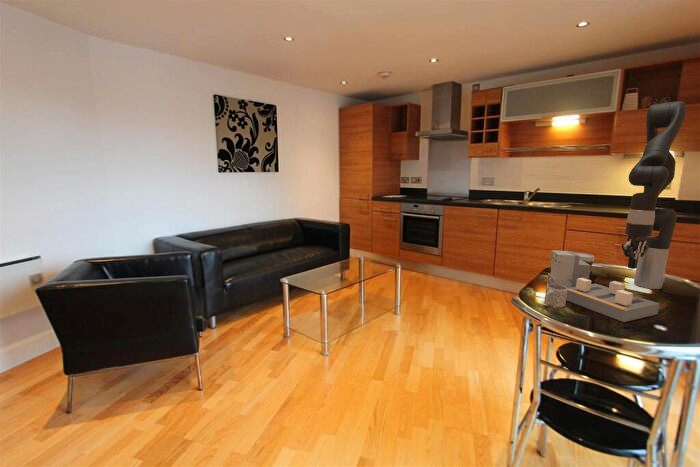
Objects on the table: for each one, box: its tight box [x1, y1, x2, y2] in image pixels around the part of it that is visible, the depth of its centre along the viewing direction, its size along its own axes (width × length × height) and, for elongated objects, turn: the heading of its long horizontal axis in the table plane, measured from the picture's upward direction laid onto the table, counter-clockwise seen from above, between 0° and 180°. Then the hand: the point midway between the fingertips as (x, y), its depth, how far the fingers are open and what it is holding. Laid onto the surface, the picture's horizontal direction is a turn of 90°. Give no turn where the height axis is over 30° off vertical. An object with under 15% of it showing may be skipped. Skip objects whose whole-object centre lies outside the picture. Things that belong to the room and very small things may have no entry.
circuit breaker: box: [546, 249, 593, 288], centre depth 145 cm, size 8×14×15 cm, turn 78°
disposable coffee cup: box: [575, 252, 596, 271], centre depth 154 cm, size 10×10×12 cm
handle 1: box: [575, 278, 592, 292], centre depth 131 cm, size 3×4×4 cm
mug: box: [544, 284, 567, 308], centre depth 127 cm, size 10×7×7 cm, turn 121°
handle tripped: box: [608, 280, 626, 295], centre depth 127 cm, size 3×4×4 cm
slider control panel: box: [566, 283, 661, 323], centre depth 127 cm, size 18×22×4 cm
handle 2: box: [614, 290, 634, 306], centre depth 118 cm, size 3×4×4 cm
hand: (631, 268), depth 129 cm, fingers closed
